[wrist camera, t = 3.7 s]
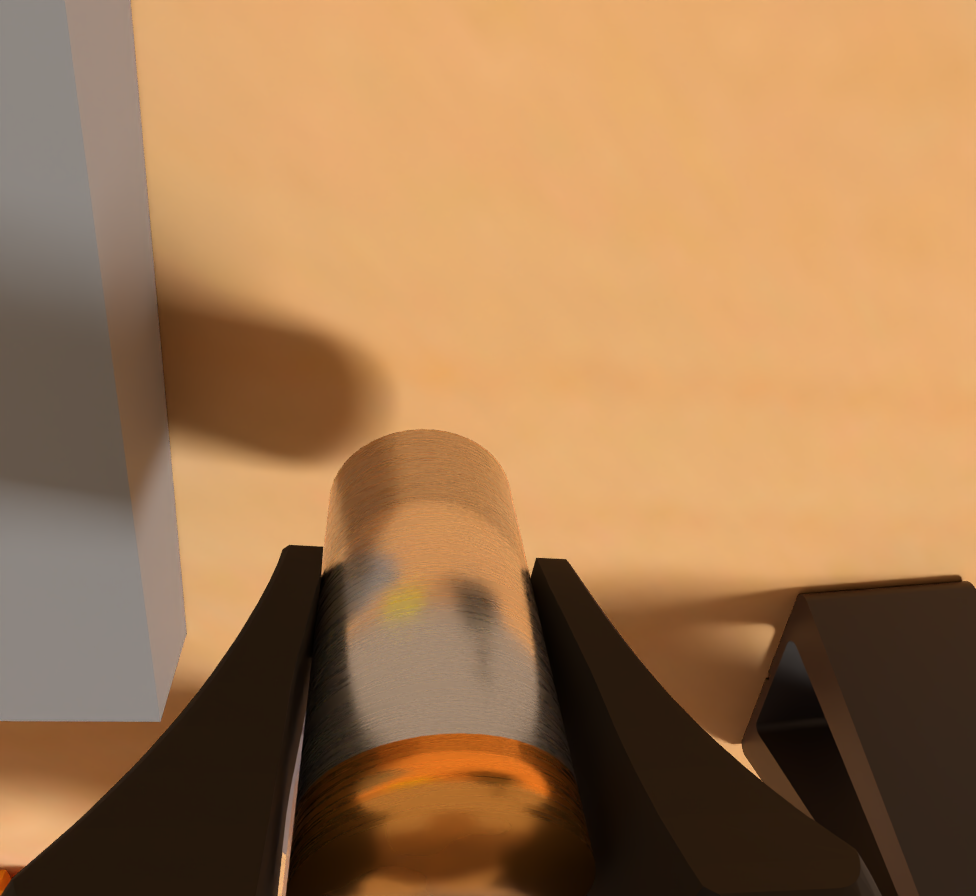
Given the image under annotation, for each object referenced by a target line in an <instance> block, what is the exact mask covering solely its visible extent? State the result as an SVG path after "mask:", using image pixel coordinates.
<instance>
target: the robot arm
mask: <svg viewBox="0 0 976 896" xmlns="http://www.w3.org/2000/svg"><path fill="white" fill-rule="evenodd" d="M322 557H323V547H317V546H298V545H289V546H287V547H286V548H284V549H283V550H282V553H281V556H280V559H279V561H278V564H277V566H276V568H275V571H274V573H273V575H272V577H271V579H270V581H269V583H268V585H267V587H266V589H265V591H264V593H263V594H262V596H261V598H260V600H259V602H258V604H257V605H256V607H255V609H254V610H253V612H252V614H251V615H250V617H249V619H248V620H247V622H246V624H245V625H244V627H243V629H242V630H241V632H240V633H239V635H238V637H237V638H236V640H235V641H234V643H233V644H232V645H231V647H230V648H229V650H228V651H227V653H226V654H225V656H224V657H223V658H222V660H221V661H220V663H219V664H218V666H217V667H216V669H215V670H214V671H213V673H212V674H211V676H210V677H209V678H208V680H207V681H206V682H205V684H204V685H203V686H202V688H201V689H200V690H199V691H198V693H197V694H196V695H195V697H194V698H193V699H192V700H191V702H190V703H189V704H188V705H187V706H186V708H185V709H184V710H183V711H182V713H181V714H180V715H179V716H178V717H177V719H176V720H175V721H174V722H173V723H172V724H171V726H170V727H169V728H168V729H167V730H166V731H165V732H164V733H163V735H162V736H161V737H160V738H159V739H158V740H157V741H156V742H155V744H154V745H153V746H152V747H151V748H150V749H149V750H148V751H147V753H146V754H145V755H144V756H143V757H142V758H141V759H140V760H139V761H138V762H137V763H136V764H135V765H134V766H133V767H132V768H131V769H130V771H128V772H127V773H126V774H125V775H124V776H123V777H122V778H121V779H120V780H119V781H118V782H117V783H116V784H115V785H114V786H113V787H112V788H111V789H110V790H109V791H108V792H107V793H106V794H105V795H104V796H103V797H102V798H101V799H100V800H99V801H98V802H97V803H96V804H95V805H94V806H93V807H92V808H91V809H90V810H89V811H88V812H87V813H86V814H85V815H84V816H82V817H81V818H80V819H79V820H78V821H77V822H76V823H75V824H74V825H73V826H72V827H70V828H69V829H68V830H67V831H66V832H65V833H64V834H62V835H61V836H60V837H59V838H58V839H57V840H55V841H54V842H53V843H52V844H51V845H50V846H49V847H47V848H46V849H45V850H44V851H43V852H42V853H41V854H39V855H38V856H37V857H36V858H35V859H34V860H32V861H31V862H30V863H29V864H28V865H27V866H26V867H24V868H23V869H22V870H21V871H20V872H19V873H17V874H16V875H15V876H14V877H13V878H12V879H11V880H10V882H9V883H8V885H7V886H6V888H5V889H4V891H3V893H2V894H1V896H277V895H278V886H279V877H280V867H281V858H282V852H283V853H285V854H286V863H285V872H284V881H283V890H282V896H286V887H287V878H288V869H289V860H290V851H291V842H292V833H293V824H294V815H295V806H296V797H297V788H298V779H299V770H300V761H301V752H302V743H303V734H304V725H305V716H306V707H307V698H308V689H309V680H310V671H311V661H312V652H313V643H314V634H315V627H316V620H317V611H318V602H319V593H320V583H321V572H322ZM530 579H531V583H532V588H533V592H534V596H535V601H536V605H537V610H538V614H539V618H540V623H541V627H542V632H543V636H544V640H545V645H546V649H547V654H548V658H549V662H550V667H551V671H552V676H553V680H554V684H555V689H556V693H557V698H558V702H559V706H560V711H561V715H562V720H563V724H564V728H565V733H566V737H567V742H568V746H569V750H570V755H571V759H572V764H573V768H574V772H575V777H576V781H577V786H578V790H579V795H580V799H581V803H582V808H583V812H584V817H585V821H586V825H587V830H588V834H589V839H590V843H591V847H592V852H593V856H594V861H595V868H596V872H595V879H594V882H593V884H592V887H591V889H590V891H589V892H588V894H587V895H586V896H882V895H881V893H880V891H879V889H878V888H877V886H876V884H875V882H874V880H873V878H872V876H871V874H870V872H869V870H868V869H867V867H866V865H865V863H864V862H863V860H862V858H861V857H860V855H859V853H858V852H857V850H856V849H855V848H853V847H852V846H850V845H849V844H847V843H846V842H844V841H843V840H842V839H840V838H839V837H837V836H836V835H834V834H833V833H831V832H830V831H829V830H827V829H826V828H824V827H823V826H821V825H820V824H818V823H817V822H816V821H814V820H813V819H811V818H810V817H808V816H807V815H805V814H804V813H803V812H801V811H800V810H798V809H797V808H796V807H794V806H793V805H792V804H791V803H789V802H788V801H787V800H785V799H784V798H783V797H782V796H780V795H779V794H778V793H776V792H775V791H774V790H773V789H771V788H770V787H769V786H767V785H766V784H765V783H764V782H762V781H761V780H760V779H759V778H758V777H756V776H755V775H754V774H753V773H751V772H750V771H749V770H748V769H747V768H745V767H744V766H743V765H742V764H741V763H740V762H739V761H737V760H736V759H735V758H734V757H733V756H732V755H731V754H730V753H728V752H727V751H726V750H725V749H724V748H723V747H722V746H721V745H719V744H718V743H717V742H716V741H715V740H714V739H713V738H712V737H711V736H710V735H709V734H708V733H707V732H705V731H704V730H703V729H702V728H701V727H700V726H699V725H698V724H697V723H696V722H695V721H694V720H693V719H692V718H691V717H690V716H689V715H688V714H687V713H686V712H685V711H684V709H683V708H682V707H681V706H680V705H679V704H678V703H677V702H676V701H675V700H674V699H673V698H672V697H671V696H670V695H669V694H668V693H667V692H666V690H665V689H664V688H663V687H662V686H661V685H660V684H659V682H658V681H657V680H656V679H655V678H654V677H653V675H652V674H651V673H650V672H649V671H648V669H647V668H646V667H645V666H644V665H643V663H642V662H641V661H640V660H639V658H638V657H637V656H636V655H635V654H634V652H633V651H632V650H631V648H630V647H629V646H628V644H627V643H626V642H625V641H624V639H623V638H622V637H621V635H620V634H619V633H618V631H617V630H616V629H615V627H614V626H613V625H612V623H611V622H610V621H609V619H608V618H607V617H606V615H605V614H604V612H603V611H602V610H601V608H600V607H599V605H598V604H597V602H596V601H595V600H594V598H593V597H592V595H591V594H590V592H589V591H588V590H587V588H586V587H585V585H584V584H583V582H582V581H581V579H580V578H579V576H578V575H577V574H576V572H575V571H574V569H573V568H572V566H571V565H570V564H569V562H568V561H567V560H566V559H549V558H536V561H535V564H534V568H533V571H532V575H531V578H530Z"/></svg>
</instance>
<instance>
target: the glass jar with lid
mask: <svg viewBox="0 0 976 896" xmlns="http://www.w3.org/2000/svg"><path fill="white" fill-rule="evenodd" d="M595 872H596V868H595V861H594V856H593V852H592V847H591V843H590V839H589V834H588V830H587V825H586V821H585V817H584V812H583V808H582V803H581V799H580V795H579V790H578V786H577V781H576V777H575V772H574V768H573V764H572V759H571V755H570V750H569V746H568V742H567V737H566V733H565V728H564V724H563V720H562V715H561V711H560V706H559V702H558V698H557V693H556V689H555V684H554V680H553V676H552V671H551V667H550V662H549V658H548V654H547V649H546V645H545V640H544V636H543V632H542V627H541V623H540V618H539V614H538V610H537V605H536V601H535V596H534V592H533V588H532V583H531V579H530V574H529V570H528V566H527V561H526V557H525V552H524V548H523V543H522V539H521V535H520V530H519V526H518V521H517V517H516V513H515V508H514V504H513V499H512V495H511V491H510V486H509V482H508V480H507V477H506V474H505V472H504V470H503V469H502V467H501V465H500V464H499V463H498V461H497V460H496V459H495V458H494V457H493V456H492V455H491V454H490V453H489V452H488V451H487V450H486V449H484V448H483V447H482V446H480V445H479V444H477V443H475V442H473V441H471V440H470V439H468V438H465V437H462V436H460V435H457V434H453V433H449V432H446V431H439V430H425V429H419V430H407V431H402V432H397V433H393V434H390V435H387V436H383V437H381V438H379V439H377V440H374V441H372V442H370V443H369V444H367V445H365V446H364V447H362V448H361V449H359V450H358V451H357V452H355V453H354V454H353V455H352V456H351V457H350V458H349V459H348V460H347V461H346V462H345V463H344V465H343V466H342V467H341V469H340V470H339V471H338V473H337V475H336V477H335V479H334V482H333V485H332V488H331V492H330V499H329V508H328V517H327V526H326V535H325V544H324V553H323V562H322V572H321V583H320V593H319V602H318V611H317V620H316V627H315V634H314V643H313V652H312V661H311V671H310V680H309V689H308V698H307V707H306V716H305V725H304V734H303V743H302V752H301V761H300V770H299V779H298V788H297V797H296V806H295V815H294V824H293V833H292V842H291V851H290V860H289V869H288V878H287V887H286V896H586V895H587V894H588V892H589V891H590V889H591V887H592V884H593V882H594V879H595Z"/></svg>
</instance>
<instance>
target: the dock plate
mask: <svg viewBox="0 0 976 896" xmlns="http://www.w3.org/2000/svg"><path fill="white" fill-rule="evenodd" d="M186 634H187V633H186V621H185V610H184V599H183V588H182V576H181V565H180V554H179V543H178V531H177V520H176V509H175V497H174V486H173V475H172V464H171V452H170V441H169V430H168V419H167V407H166V396H165V385H164V374H163V362H162V351H161V340H160V328H159V317H158V306H157V295H156V283H155V272H154V261H153V250H152V238H151V227H150V216H149V204H148V193H147V182H146V171H145V159H144V148H143V137H142V126H141V114H140V103H139V92H138V81H137V69H136V58H135V47H134V35H133V24H132V13H131V2H130V0H0V721H98V722H160V721H161V718H162V715H163V711H164V708H165V705H166V701H167V698H168V694H169V691H170V688H171V684H172V681H173V678H174V674H175V671H176V667H177V664H178V661H179V657H180V654H181V650H182V647H183V644H184V640H185V637H186Z"/></svg>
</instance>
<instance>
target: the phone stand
mask: <svg viewBox="0 0 976 896" xmlns="http://www.w3.org/2000/svg"><path fill="white" fill-rule="evenodd" d="M768 672H769V676H770V678H766V679H765V682H764V684H763V687H762V690H761V692H760V695H759V698H758V700H757V703H756V705H755V708H754V711H753V713H752V716H751V718H750V721H749V724H748V726H747V729H746V731H745V734H744V737H743V739H742V749H743V752H744V755H745V756H746V758H747V759H748V761H749V762H750V764H751V765H752V767H753V768H754V770H755V771H756V773H757V774H758V775H759V777H760V778H761V780H762V781H763V782H764V783H765V784H766V785H767V786H769V787H770V788H771V789H773V790H774V791H775V792H776V793H778V794H779V795H780V796H782V797H783V798H784V799H785V800H787V801H788V802H789V803H791V804H792V805H793V806H794V807H796V808H797V809H798V810H800V811H801V812H803V813H804V814H805V815H807V816H808V817H810V818H811V819H813V820H814V821H816V822H817V823H818V824H820V825H821V826H823V827H824V828H826V829H827V830H829V831H830V832H831V833H833V834H834V835H836V836H837V837H839V838H840V839H842V840H843V841H844V842H846V843H847V844H849V845H850V846H852V847H853V848H855V849H856V850H857V852H858V853H859V855H860V857H861V858H862V860H863V862H864V863H865V865H866V867H867V869H868V870H869V872H870V874H871V876H872V878H873V880H874V882H875V884H876V886H877V888H878V889H879V891H880V893H881V895H882V896H976V589H975V587H974V586H973V585H972V584H971V583H970V582H967V581H963V582H951V583H938V584H925V585H912V586H899V587H887V588H874V589H861V590H848V591H836V592H823V593H810V594H799V595H798V596H797V598H796V601H795V604H794V606H793V609H792V611H791V614H790V617H789V619H788V622H787V624H786V627H785V630H784V632H783V635H782V638H781V640H780V643H779V645H778V648H777V651H776V653H775V656H774V658H773V661H772V664H771V666H770V669H769V671H768Z"/></svg>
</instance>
